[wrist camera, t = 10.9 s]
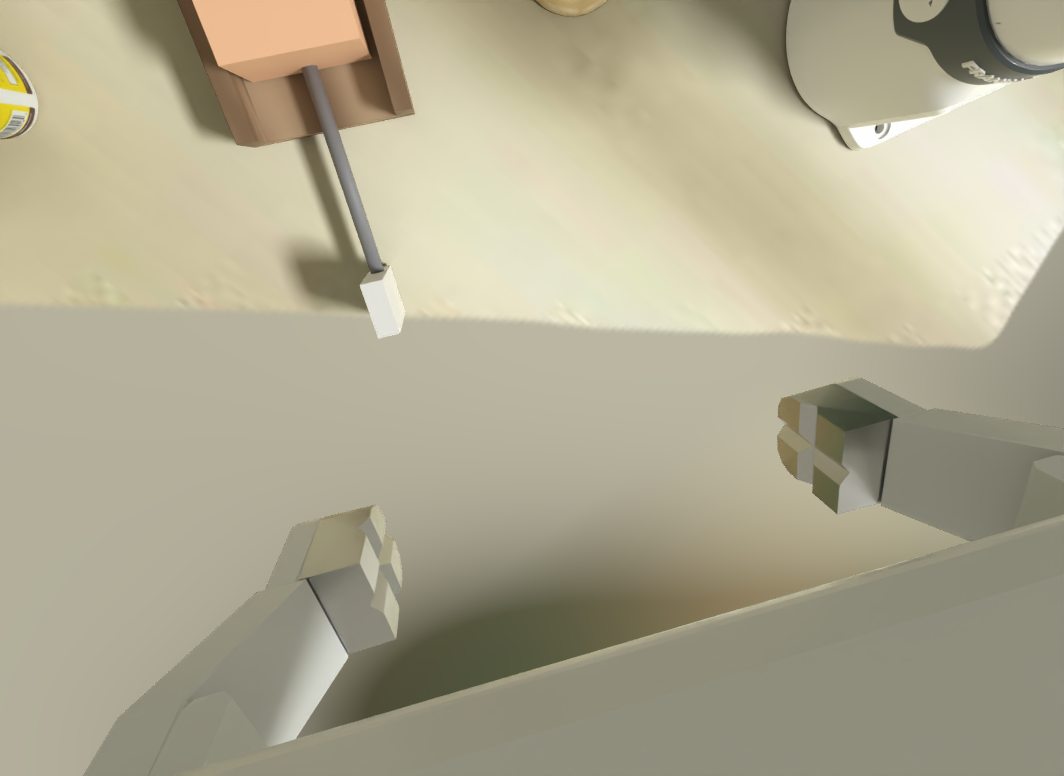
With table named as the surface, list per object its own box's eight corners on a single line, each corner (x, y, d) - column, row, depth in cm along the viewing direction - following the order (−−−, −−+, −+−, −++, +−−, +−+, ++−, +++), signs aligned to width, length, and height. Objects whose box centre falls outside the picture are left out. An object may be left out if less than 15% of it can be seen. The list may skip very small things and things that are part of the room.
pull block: (342, -49, 31) (320, -100, 25) (442, 303, 41) (443, 324, 35) (216, -25, 31) (162, -72, 25) (348, 325, 41) (333, 351, 35)
